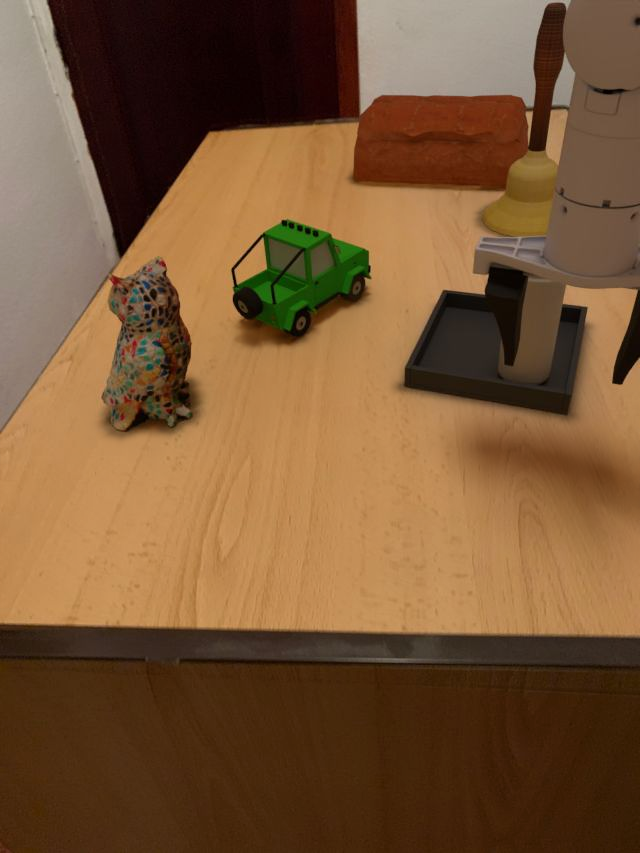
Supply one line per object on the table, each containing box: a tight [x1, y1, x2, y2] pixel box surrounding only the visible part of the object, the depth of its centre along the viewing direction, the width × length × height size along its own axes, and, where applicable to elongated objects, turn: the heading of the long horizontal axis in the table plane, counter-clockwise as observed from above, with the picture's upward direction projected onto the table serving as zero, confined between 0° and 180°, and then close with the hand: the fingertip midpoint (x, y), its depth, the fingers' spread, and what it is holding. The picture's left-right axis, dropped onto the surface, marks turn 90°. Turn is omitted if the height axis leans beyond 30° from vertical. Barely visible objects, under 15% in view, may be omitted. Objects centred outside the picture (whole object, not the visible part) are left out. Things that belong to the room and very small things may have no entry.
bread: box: [352, 94, 530, 188], centre depth 102 cm, size 16×27×11 cm, turn 72°
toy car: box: [230, 218, 372, 338], centre depth 73 cm, size 8×17×10 cm, turn 137°
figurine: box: [100, 255, 194, 432], centre depth 60 cm, size 9×9×15 cm
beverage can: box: [498, 276, 567, 385], centre depth 59 cm, size 5×5×12 cm
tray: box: [404, 289, 589, 415], centre depth 66 cm, size 15×15×2 cm
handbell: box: [481, 1, 567, 237], centre depth 82 cm, size 12×12×25 cm
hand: (562, 367), depth 49 cm, fingers open, 7 cm apart
